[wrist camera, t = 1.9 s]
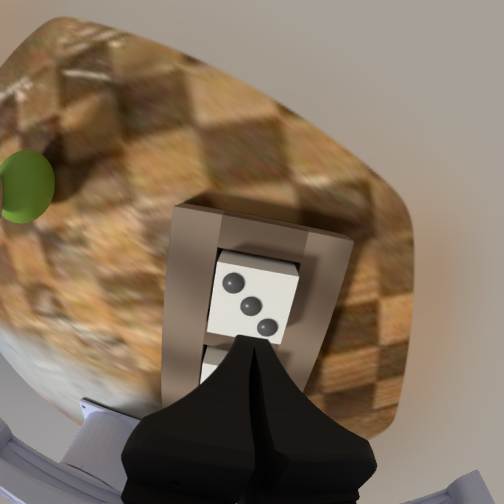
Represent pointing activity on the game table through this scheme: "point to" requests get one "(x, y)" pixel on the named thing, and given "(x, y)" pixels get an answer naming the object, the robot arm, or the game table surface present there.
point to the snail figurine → (25, 186)
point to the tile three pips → (252, 296)
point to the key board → (202, 281)
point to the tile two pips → (212, 360)
